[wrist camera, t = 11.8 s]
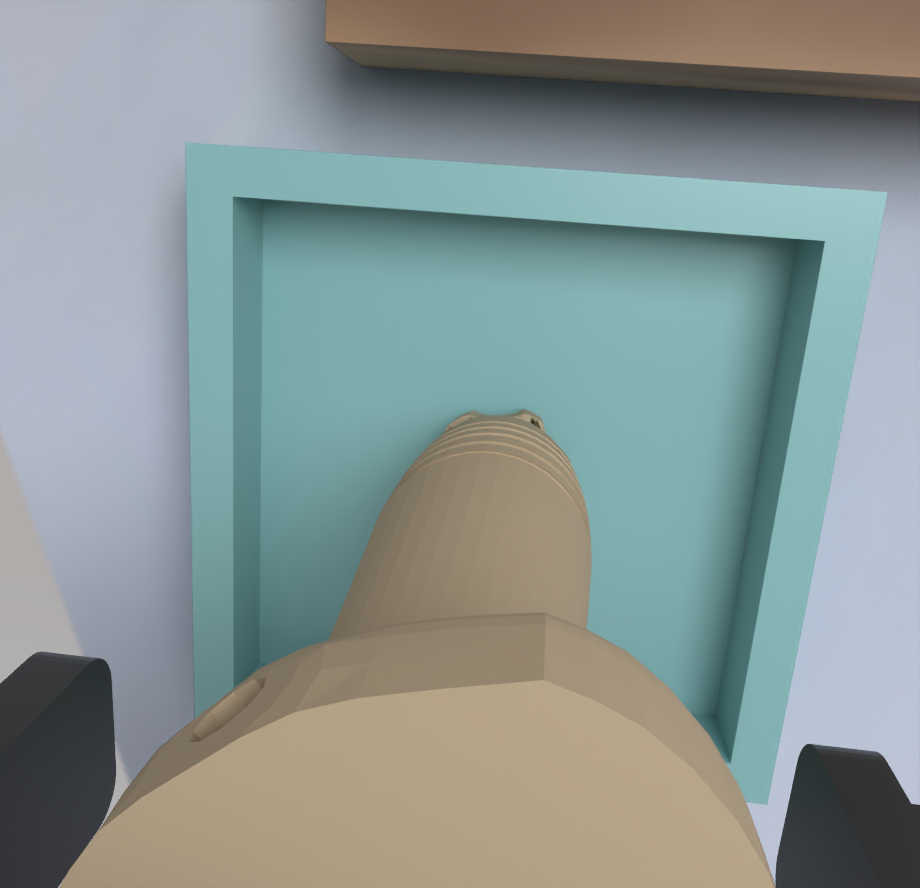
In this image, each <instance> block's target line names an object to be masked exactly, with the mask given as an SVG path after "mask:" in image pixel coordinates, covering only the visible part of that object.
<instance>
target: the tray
mask: <svg viewBox="0 0 920 888" xmlns="http://www.w3.org/2000/svg"><path fill="white" fill-rule="evenodd" d="M185 158H186V221H187V285H188V348H189V411H190V475H191V538H192V602H193V665H194V719H195V718H196V717H198V716H199V715H200V714H201V713H203V712H204V711H205V710H206V709H208V708H209V707H210V706H212V705H213V704H214V703H216V702H217V701H218V700H220V699H221V698H222V697H223V696H225V695H226V694H227V693H229V692H230V691H231V690H233V689H234V688H235V687H236V686H238V685H239V684H240V683H242V682H243V681H244V680H246V679H247V678H248V677H249V676H251V675H252V674H253V673H255V672H256V671H257V670H259V669H260V668H262V667H264V666H266V665H268V664H270V663H272V662H274V661H276V660H279V659H281V658H283V657H285V656H287V655H289V654H291V653H293V652H295V651H297V650H299V649H301V648H304V647H308V646H311V645H314V644H318V643H321V642H325V641H328V640H329V637H330V635H331V632H332V630H333V628H334V625H335V623H336V621H337V618H338V616H339V614H340V611H341V609H342V607H343V604H344V601H345V599H346V596H347V594H348V591H349V589H350V586H351V584H352V581H353V579H354V576H355V574H356V571H357V569H358V566H359V564H360V561H361V559H362V556H363V554H364V551H365V549H366V546H367V544H368V541H369V538H370V536H371V533H372V531H373V528H374V526H375V523H376V521H377V519H378V517H379V514H380V512H381V510H382V508H383V507H384V505H385V503H386V502H387V500H388V498H389V497H390V495H391V494H392V492H393V490H394V489H395V487H396V486H397V484H398V483H399V481H400V480H401V478H402V477H403V475H404V474H405V472H406V471H407V470H408V469H409V467H410V466H411V465H412V464H413V463H414V461H415V460H416V459H417V458H418V457H419V456H420V455H421V453H422V452H423V451H424V450H425V449H426V448H427V447H428V446H429V445H430V444H431V443H432V442H433V441H434V440H436V439H437V438H438V437H439V436H441V435H442V434H443V433H444V430H445V429H446V428H447V426H449V425H450V424H451V423H452V422H453V421H454V420H455V419H456V418H458V417H459V416H461V415H463V414H465V413H468V412H471V411H474V410H475V411H477V412H479V413H480V414H484V415H509V414H513V413H516V412H519V411H520V410H522V409H527V410H529V411H531V412H533V413H535V414H536V415H538V416H539V417H541V419H542V421H543V425H544V430H545V432H546V434H547V435H548V436H550V437H551V438H552V439H553V440H554V441H555V442H556V444H557V445H558V446H559V447H560V448H561V450H562V451H563V452H565V454H566V455H567V456H568V457H569V459H570V462H571V464H572V467H573V469H574V471H575V473H576V476H577V479H578V481H579V484H580V487H581V490H582V493H583V496H584V499H585V503H586V508H587V513H588V519H589V526H590V537H591V556H592V568H591V581H590V593H589V606H588V619H587V630H589V631H591V632H593V633H594V634H596V635H598V636H600V637H602V638H604V639H605V640H607V641H609V642H611V643H613V644H615V645H616V646H618V647H620V648H622V649H624V650H625V651H627V652H629V653H630V654H631V655H632V656H633V657H634V658H636V659H637V660H638V661H639V662H640V663H641V664H643V665H644V666H645V667H646V668H647V669H648V670H650V671H651V672H652V673H653V674H654V675H655V676H657V677H658V678H659V679H660V680H661V681H662V682H664V683H665V684H666V685H667V686H668V687H669V688H670V689H671V690H672V692H673V693H674V694H675V695H676V696H677V698H678V699H679V700H680V701H681V702H682V703H683V705H684V706H685V707H686V708H687V709H688V711H689V712H690V713H691V714H692V715H693V717H694V718H695V719H696V720H697V721H698V723H699V724H700V725H701V726H702V727H703V728H704V730H705V731H706V732H707V733H708V734H709V736H710V737H711V739H712V741H713V743H714V744H715V746H716V748H717V749H718V751H719V753H720V754H721V756H722V758H723V760H724V761H725V763H726V765H727V766H728V768H729V770H730V771H731V773H732V775H733V777H734V778H735V780H736V782H737V784H738V786H739V788H740V790H741V792H742V794H743V796H744V798H745V801H746V802H748V803H756V804H764V805H767V803H768V797H769V792H770V787H771V782H772V777H773V772H774V767H775V762H776V757H777V752H778V747H779V742H780V737H781V732H782V726H783V721H784V716H785V711H786V706H787V701H788V696H789V691H790V686H791V681H792V676H793V671H794V666H795V660H796V655H797V650H798V645H799V640H800V635H801V630H802V625H803V620H804V615H805V610H806V605H807V600H808V595H809V589H810V584H811V579H812V574H813V569H814V564H815V559H816V554H817V549H818V544H819V539H820V534H821V529H822V523H823V518H824V513H825V508H826V503H827V498H828V493H829V488H830V483H831V478H832V473H833V468H834V463H835V458H836V452H837V447H838V442H839V437H840V432H841V427H842V422H843V417H844V412H845V407H846V402H847V397H848V392H849V386H850V381H851V376H852V371H853V366H854V361H855V356H856V351H857V346H858V341H859V336H860V331H861V326H862V321H863V315H864V310H865V305H866V300H867V295H868V290H869V285H870V280H871V275H872V270H873V265H874V260H875V255H876V249H877V244H878V239H879V234H880V229H881V224H882V219H883V214H884V209H885V204H886V199H887V194H888V192H880V191H866V190H851V189H837V188H823V187H809V186H795V185H781V184H766V183H752V182H738V181H724V180H710V179H696V178H681V177H667V176H653V175H639V174H625V173H611V172H596V171H582V170H568V169H554V168H540V167H526V166H511V165H497V164H483V163H469V162H455V161H441V160H426V159H412V158H398V157H384V156H370V155H356V154H341V153H327V152H313V151H299V150H285V149H271V148H257V147H242V146H228V145H214V144H200V143H186V142H185Z"/></svg>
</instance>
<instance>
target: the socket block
mask: <svg viewBox="0 0 920 888" xmlns="http://www.w3.org/2000/svg"><path fill="white" fill-rule="evenodd" d="M325 42H327V43H328V44H330V45H331V46H333V47H334V48H336V49H337V50H339V51H340V52H342V53H343V54H345V55H346V56H348V57H349V58H351V59H352V60H354V61H355V62H357V63H358V64H360V65H361V66H363V67H374V68H390V69H406V70H422V71H438V72H454V73H470V74H486V75H502V76H518V77H534V78H550V79H566V80H582V81H598V82H614V83H630V84H646V85H662V86H677V87H693V88H709V89H725V90H741V91H757V92H773V93H789V94H805V95H821V96H837V97H853V98H869V99H885V100H901V101H917V102H920V0H326V30H325Z"/></svg>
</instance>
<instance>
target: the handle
mask: <svg viewBox="0 0 920 888" xmlns="http://www.w3.org/2000/svg"><path fill="white" fill-rule="evenodd" d="M591 568H592V556H591V537H590V526H589V519H588V513H587V508H586V503H585V499H584V496H583V493H582V490H581V487H580V484H579V481H578V479H577V476H576V473H575V471H574V469H573V467H572V464H571V462H570V459H569V457H568V456H567V455H566V454H565V452H563V451H562V450H561V448H560V447H559V446H558V445H557V444H556V442H555V441H554V440H553V439H552V438H551V437H550V436H548V435H547V434H546V432H545V430H544V425H543V421H542V419H541V417H539V416H538V415H536V414H535V413H533V412H531V411H529V410H527V409H522V410H520V411H519V412H516V413H513V414H509V415H484V414H480V413H479V412H477V411H475V410H474V411H471V412H468V413H465V414H463V415H461V416H459V417H458V418H456V419H455V420H454V421H453V422H452V423H451V424H450V425H449V426H447V428H446V429H445V430H444V433H443V434H442V435H441V436H439V437H438V438H437V439H436V440H434V441H433V442H432V443H431V444H430V445H429V446H428V447H427V448H426V449H425V450H424V451H423V452H422V453H421V455H420V456H419V457H418V458H417V459H416V460H415V461H414V463H413V464H412V465H411V466H410V467H409V469H408V470H407V471H406V472H405V474H404V475H403V477H402V478H401V480H400V481H399V483H398V484H397V486H396V487H395V489H394V490H393V492H392V494H391V495H390V497H389V498H388V500H387V502H386V503H385V505H384V507H383V508H382V510H381V512H380V514H379V517H378V519H377V521H376V523H375V526H374V528H373V531H372V533H371V536H370V538H369V541H368V544H367V546H366V549H365V551H364V554H363V556H362V559H361V561H360V564H359V566H358V569H357V571H356V574H355V576H354V579H353V581H352V584H351V586H350V589H349V591H348V594H347V596H346V599H345V601H344V604H343V607H342V609H341V611H340V614H339V616H338V618H337V621H336V623H335V625H334V628H333V630H332V632H331V635H330V637H329V640H328V641H325V642H321V643H318V644H314V645H311V646H308V647H304V648H301V649H299V650H297V651H295V652H293V653H291V654H289V655H287V656H285V657H283V658H281V659H279V660H276V661H274V662H272V663H270V664H268V665H266V666H264V667H262V668H260V669H259V670H257V671H256V672H255V673H253V674H252V675H251V676H249V677H248V678H247V679H246V680H244V681H243V682H242V683H240V684H239V685H238V686H236V687H235V688H234V689H233V690H231V691H230V692H229V693H227V694H226V695H225V696H223V697H222V698H221V699H220V700H218V701H217V702H216V703H214V704H213V705H212V706H210V707H209V708H208V709H206V710H205V711H204V712H203V713H201V714H200V715H199V716H198V717H196V718H195V719H194V720H193V721H192V722H190V723H189V724H188V725H186V726H185V727H184V728H183V729H181V730H180V731H179V732H178V733H177V734H175V735H174V736H173V737H172V738H171V739H169V740H168V741H167V742H166V743H165V744H163V745H162V746H161V747H160V748H159V749H158V750H157V751H156V753H155V754H154V755H153V756H152V758H151V759H150V760H149V761H148V763H147V764H146V765H145V766H144V768H143V769H142V770H141V771H140V773H139V774H138V775H137V776H136V778H135V779H134V780H133V781H132V783H131V784H130V785H129V787H128V788H127V789H126V790H125V792H124V793H123V795H122V796H121V798H120V799H119V801H118V802H117V804H116V805H115V807H114V808H113V810H112V811H111V813H110V814H109V816H108V818H107V819H106V821H105V822H104V824H103V825H102V827H101V828H100V829H99V831H98V832H97V834H96V835H95V836H94V837H93V839H92V840H91V842H90V843H89V844H88V846H87V847H86V848H85V850H84V851H83V852H82V854H81V855H80V856H79V858H78V859H77V860H76V862H75V863H74V864H73V866H72V867H71V868H70V870H69V871H68V873H67V875H66V877H65V879H64V881H63V882H62V884H61V886H60V888H776V887H775V883H774V880H773V877H772V874H771V871H770V868H769V865H768V863H767V860H766V857H765V854H764V851H763V848H762V845H761V842H760V839H759V837H758V834H757V831H756V828H755V826H754V823H753V820H752V817H751V815H750V812H749V809H748V806H747V804H746V801H745V798H744V796H743V794H742V792H741V790H740V788H739V786H738V784H737V782H736V780H735V778H734V777H733V775H732V773H731V771H730V770H729V768H728V766H727V765H726V763H725V761H724V760H723V758H722V756H721V754H720V753H719V751H718V749H717V748H716V746H715V744H714V743H713V741H712V739H711V737H710V736H709V734H708V733H707V732H706V731H705V730H704V728H703V727H702V726H701V725H700V724H699V723H698V721H697V720H696V719H695V718H694V717H693V715H692V714H691V713H690V712H689V711H688V709H687V708H686V707H685V706H684V705H683V703H682V702H681V701H680V700H679V699H678V698H677V696H676V695H675V694H674V693H673V692H672V690H671V689H670V688H669V687H668V686H667V685H666V684H665V683H664V682H662V681H661V680H660V679H659V678H658V677H657V676H655V675H654V674H653V673H652V672H651V671H650V670H648V669H647V668H646V667H645V666H644V665H643V664H641V663H640V662H639V661H638V660H637V659H636V658H634V657H633V656H632V655H631V654H630V653H629V652H627V651H625V650H624V649H622V648H620V647H618V646H616V645H615V644H613V643H611V642H609V641H607V640H605V639H604V638H602V637H600V636H598V635H596V634H594V633H593V632H591V631H589V630H587V619H588V606H589V593H590V581H591Z"/></svg>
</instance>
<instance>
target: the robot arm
mask: <svg viewBox="0 0 920 888" xmlns="http://www.w3.org/2000/svg"><path fill="white" fill-rule="evenodd" d="M115 778H116V760H115V739H114V719H113V699H112V680H111V672H110V668H109V666H108V664H107V663H106V661H105V660H103V659H99V658H91V657H82V656H73V655H65V654H56V653H48V652H37V653H35V654H33V655H32V656H31V657H29V658H28V659H27V660H26V661H25V662H24V663H23V664H22V665H21V666H19V667H18V668H17V669H16V670H15V671H14V672H13V673H12V674H11V675H9V676H8V678H6V679H5V680H4V681H3V682H2V683H1V684H0V888H58V886H59V885H60V884H61V882H62V881H63V879H64V878H65V876H66V875H67V873H68V871H69V870H70V868H71V867H72V866H73V864H74V863H75V862H76V860H77V859H78V858H79V856H80V855H81V854H82V852H83V851H84V849H85V848H86V846H87V845H88V844H89V842H90V841H91V839H92V838H93V836H94V835H95V834H96V832H97V831H98V829H99V828H100V826H101V824H102V822H103V820H104V818H105V816H106V814H107V811H108V808H109V806H110V803H111V799H112V796H113V791H114V786H115ZM776 888H920V805H915V804H911V803H910V801H909V799H908V797H907V796H906V794H905V792H904V791H903V789H902V787H901V785H900V784H899V782H898V780H897V779H896V777H895V775H894V773H893V772H892V770H891V768H890V767H889V765H888V763H887V761H886V760H885V758H884V757H883V756H882V755H881V754H880V753H878V752H874V751H865V750H857V749H848V748H840V747H831V746H823V745H814V744H807V745H805V746H804V747H803V749H802V751H801V752H800V755H799V758H798V762H797V766H796V771H795V776H794V780H793V785H792V790H791V794H790V799H789V804H788V809H787V813H786V818H785V823H784V828H783V832H782V837H781V842H780V846H779V851H778V856H777V863H776Z"/></svg>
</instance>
